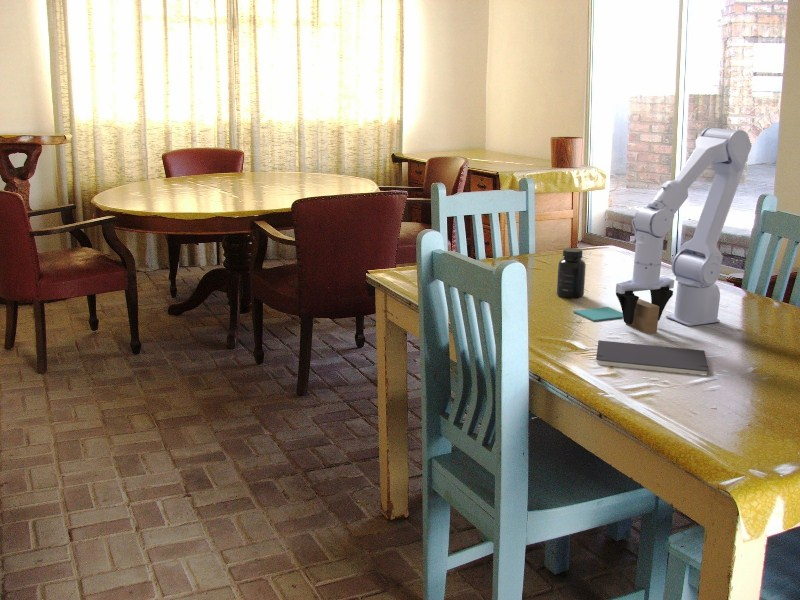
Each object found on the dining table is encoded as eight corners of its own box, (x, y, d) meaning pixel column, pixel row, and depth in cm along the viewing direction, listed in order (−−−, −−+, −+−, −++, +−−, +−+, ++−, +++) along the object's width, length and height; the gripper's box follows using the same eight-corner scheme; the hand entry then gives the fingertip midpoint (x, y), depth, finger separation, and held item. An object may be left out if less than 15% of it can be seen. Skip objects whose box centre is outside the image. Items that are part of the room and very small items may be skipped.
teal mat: (607, 308, 209) (607, 306, 209) (628, 317, 202) (629, 315, 202) (573, 312, 205) (573, 310, 205) (593, 321, 198) (593, 319, 198)
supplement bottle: (563, 290, 224) (566, 245, 221) (587, 295, 220) (591, 249, 217) (551, 296, 219) (554, 250, 215) (576, 301, 215) (580, 254, 212)
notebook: (703, 357, 177) (597, 347, 182) (704, 350, 176) (598, 340, 181) (708, 378, 165) (595, 366, 170) (709, 370, 165) (596, 359, 170)
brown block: (625, 325, 196) (628, 299, 194) (636, 323, 197) (638, 298, 196) (645, 333, 190) (648, 307, 188) (656, 332, 191) (659, 306, 190)
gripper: (632, 268, 183) (626, 329, 187) (686, 263, 189) (679, 323, 193) (612, 261, 189) (606, 320, 193) (664, 257, 195) (658, 314, 199)
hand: (641, 321), depth 193 cm, fingers open, 7 cm apart
